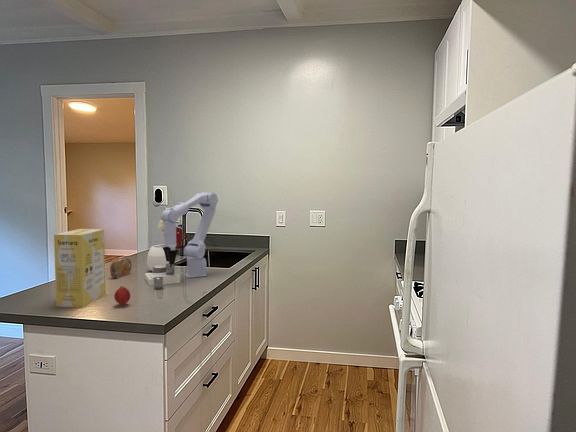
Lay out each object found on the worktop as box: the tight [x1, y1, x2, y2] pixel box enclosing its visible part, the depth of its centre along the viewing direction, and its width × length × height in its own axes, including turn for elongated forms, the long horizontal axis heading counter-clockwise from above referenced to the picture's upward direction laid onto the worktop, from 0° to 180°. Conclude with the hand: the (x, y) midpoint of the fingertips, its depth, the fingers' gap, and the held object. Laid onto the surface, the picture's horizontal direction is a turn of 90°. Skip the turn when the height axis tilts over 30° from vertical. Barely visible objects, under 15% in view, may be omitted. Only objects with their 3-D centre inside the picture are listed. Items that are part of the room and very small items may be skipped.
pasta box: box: [53, 228, 107, 308], centre depth 167 cm, size 18×10×28 cm, turn 178°
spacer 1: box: [153, 277, 164, 291], centre depth 188 cm, size 4×4×5 cm
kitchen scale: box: [144, 265, 181, 287], centre depth 201 cm, size 14×15×6 cm
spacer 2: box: [166, 263, 176, 275], centre depth 201 cm, size 4×4×5 cm
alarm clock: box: [175, 219, 188, 249], centre depth 297 cm, size 15×9×20 cm, turn 130°
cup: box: [146, 244, 169, 272], centre depth 223 cm, size 13×13×14 cm
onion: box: [113, 285, 131, 307], centre depth 162 cm, size 6×6×8 cm
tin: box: [109, 258, 132, 279], centre depth 210 cm, size 15×3×8 cm, turn 168°
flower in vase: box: [157, 219, 164, 244], centre depth 264 cm, size 13×11×25 cm
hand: (170, 262), depth 200 cm, fingers open, 7 cm apart
